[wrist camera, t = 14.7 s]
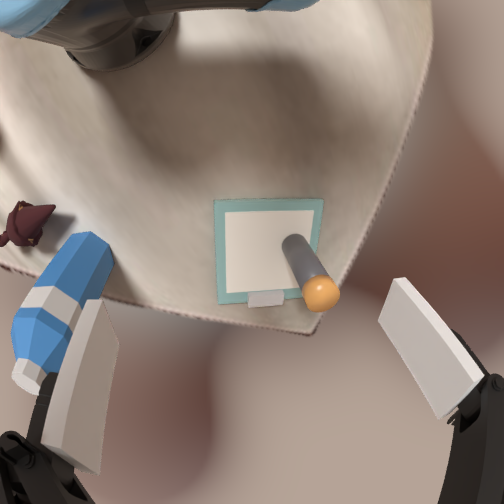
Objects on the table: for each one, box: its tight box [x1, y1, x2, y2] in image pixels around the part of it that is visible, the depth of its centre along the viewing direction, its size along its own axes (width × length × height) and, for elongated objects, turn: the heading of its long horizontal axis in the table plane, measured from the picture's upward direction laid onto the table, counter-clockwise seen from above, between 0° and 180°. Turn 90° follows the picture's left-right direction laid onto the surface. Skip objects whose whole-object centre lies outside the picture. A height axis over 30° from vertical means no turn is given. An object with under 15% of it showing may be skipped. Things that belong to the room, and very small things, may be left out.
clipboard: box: [214, 199, 324, 308], centre depth 43 cm, size 18×16×2 cm
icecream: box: [0, 201, 56, 247], centre depth 31 cm, size 7×7×15 cm
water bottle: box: [11, 231, 114, 395], centre depth 29 cm, size 9×9×25 cm
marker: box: [282, 234, 340, 312], centre depth 37 cm, size 4×4×13 cm
